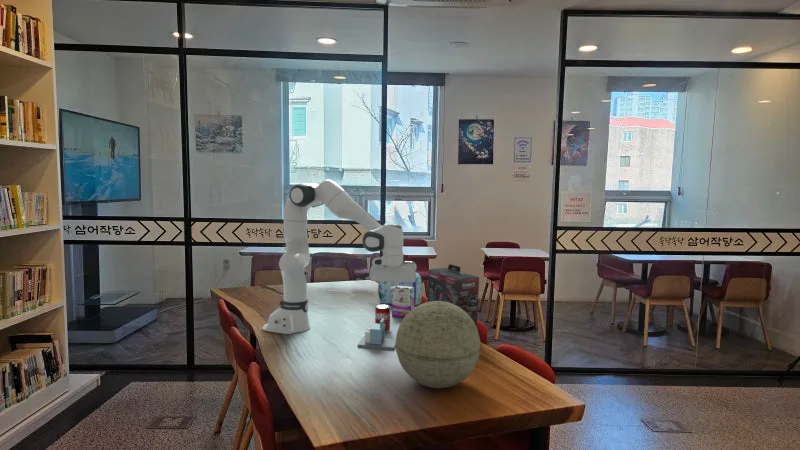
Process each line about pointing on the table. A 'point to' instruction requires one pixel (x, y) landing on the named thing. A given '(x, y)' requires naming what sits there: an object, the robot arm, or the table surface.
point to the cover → (377, 332)
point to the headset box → (454, 289)
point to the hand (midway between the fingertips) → (392, 291)
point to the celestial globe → (438, 344)
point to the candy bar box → (402, 301)
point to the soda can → (383, 315)
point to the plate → (385, 344)
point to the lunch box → (384, 290)
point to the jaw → (367, 336)
